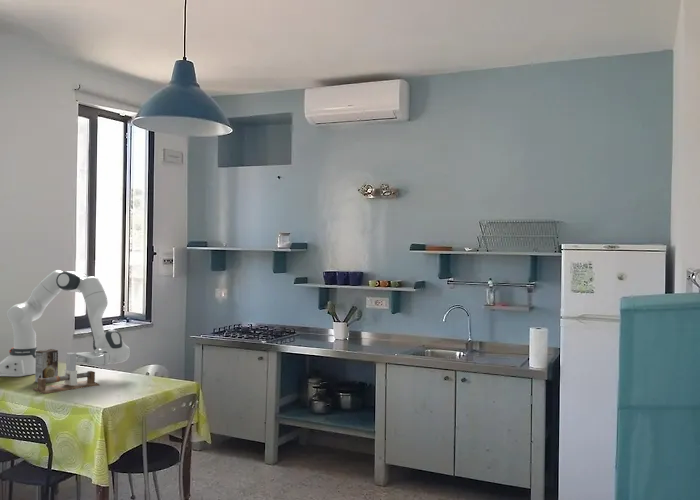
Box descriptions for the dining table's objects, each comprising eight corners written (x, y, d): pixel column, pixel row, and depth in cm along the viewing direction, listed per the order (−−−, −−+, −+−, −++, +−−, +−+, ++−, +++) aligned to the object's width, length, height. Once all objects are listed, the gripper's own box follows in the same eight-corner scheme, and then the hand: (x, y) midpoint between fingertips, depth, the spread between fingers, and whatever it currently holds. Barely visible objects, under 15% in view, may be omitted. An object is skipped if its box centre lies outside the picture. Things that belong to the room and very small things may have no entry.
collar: (70, 382, 327) (70, 352, 327) (76, 384, 322) (77, 353, 322) (64, 383, 325) (65, 352, 325) (70, 385, 320) (71, 354, 320)
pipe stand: (88, 381, 337) (88, 369, 337) (99, 385, 329) (99, 372, 329) (33, 390, 316) (33, 376, 316) (43, 394, 308) (44, 380, 308)
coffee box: (50, 378, 342) (51, 348, 342) (58, 380, 339) (58, 349, 338) (34, 381, 334) (35, 350, 334) (42, 383, 331) (42, 352, 331)
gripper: (90, 348, 342) (64, 351, 332) (109, 353, 329) (83, 356, 318) (90, 360, 342) (64, 363, 332) (109, 365, 329) (83, 369, 318)
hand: (73, 360), depth 325 cm, fingers closed, pressing on collar
